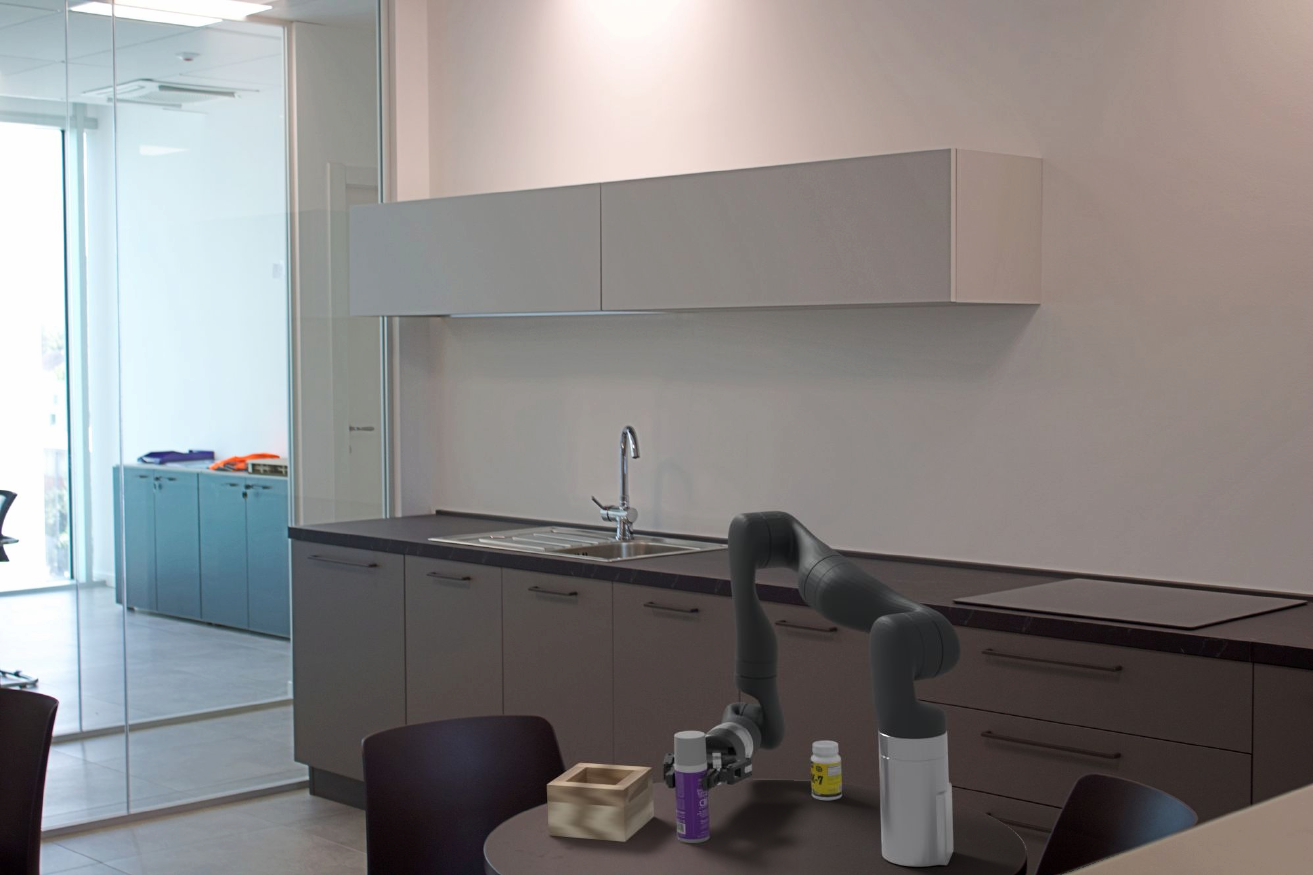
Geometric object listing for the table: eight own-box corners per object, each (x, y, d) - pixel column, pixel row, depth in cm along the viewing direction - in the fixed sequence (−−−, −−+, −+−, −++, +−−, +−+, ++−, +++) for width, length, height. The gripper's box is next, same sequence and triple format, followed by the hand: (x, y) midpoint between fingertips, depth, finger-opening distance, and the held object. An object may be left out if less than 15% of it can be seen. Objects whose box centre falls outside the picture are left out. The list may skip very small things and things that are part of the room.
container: (706, 843, 196) (703, 738, 196) (674, 842, 197) (670, 738, 197) (712, 832, 201) (708, 730, 200) (680, 831, 202) (676, 730, 201)
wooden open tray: (653, 816, 210) (652, 767, 209) (625, 841, 198) (623, 789, 198) (581, 810, 214) (579, 762, 214) (548, 835, 203) (546, 784, 202)
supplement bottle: (806, 794, 218) (804, 742, 218) (831, 790, 220) (829, 737, 220) (822, 802, 214) (820, 748, 213) (848, 797, 216) (846, 744, 215)
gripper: (678, 725, 216) (639, 753, 200) (767, 729, 211) (734, 759, 195) (680, 772, 216) (641, 805, 200) (768, 778, 211) (736, 812, 195)
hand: (687, 782), depth 197 cm, fingers closed on container, 4 cm apart
